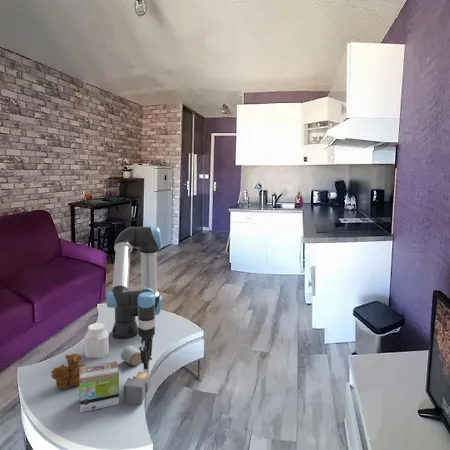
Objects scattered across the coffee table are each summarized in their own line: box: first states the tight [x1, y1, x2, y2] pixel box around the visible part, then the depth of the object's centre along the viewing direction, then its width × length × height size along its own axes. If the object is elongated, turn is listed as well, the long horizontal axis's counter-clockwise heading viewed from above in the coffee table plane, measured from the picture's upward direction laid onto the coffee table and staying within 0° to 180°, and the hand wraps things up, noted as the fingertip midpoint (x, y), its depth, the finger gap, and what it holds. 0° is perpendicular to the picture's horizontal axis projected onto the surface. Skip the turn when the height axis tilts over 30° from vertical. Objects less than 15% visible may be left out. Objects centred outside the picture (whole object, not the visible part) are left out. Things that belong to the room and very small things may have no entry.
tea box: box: [78, 360, 120, 413], centre depth 144 cm, size 15×10×15 cm
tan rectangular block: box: [135, 371, 148, 382], centre depth 151 cm, size 12×4×6 cm, turn 175°
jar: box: [84, 322, 110, 359], centre depth 181 cm, size 12×10×15 cm
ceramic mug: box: [120, 345, 141, 367], centre depth 175 cm, size 11×8×8 cm
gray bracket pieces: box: [123, 375, 151, 405], centre depth 150 cm, size 12×8×8 cm, turn 175°
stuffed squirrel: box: [50, 353, 87, 391], centre depth 155 cm, size 10×14×13 cm
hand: (146, 373), depth 163 cm, fingers closed
